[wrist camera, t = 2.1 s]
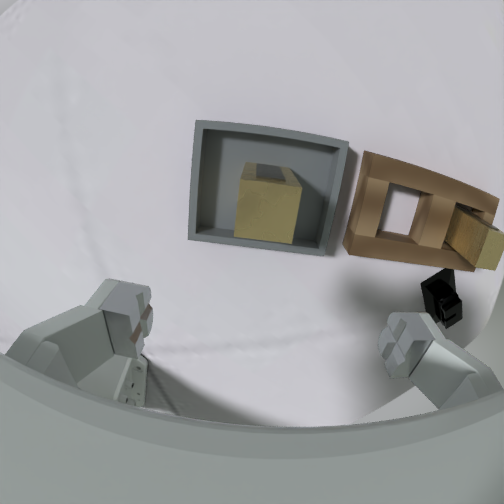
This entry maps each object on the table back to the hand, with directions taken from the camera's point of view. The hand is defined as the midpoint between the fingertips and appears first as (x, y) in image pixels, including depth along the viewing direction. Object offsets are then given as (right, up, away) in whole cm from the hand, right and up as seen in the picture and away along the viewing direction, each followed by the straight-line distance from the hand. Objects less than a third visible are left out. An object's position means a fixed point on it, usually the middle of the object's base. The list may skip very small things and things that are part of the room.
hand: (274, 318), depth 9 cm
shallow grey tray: (0, +9, +17) cm, 19 cm away
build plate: (+25, -4, +23) cm, 35 cm away
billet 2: (+23, +6, +18) cm, 30 cm away
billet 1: (0, +8, +17) cm, 19 cm away
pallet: (+19, +6, +18) cm, 27 cm away
